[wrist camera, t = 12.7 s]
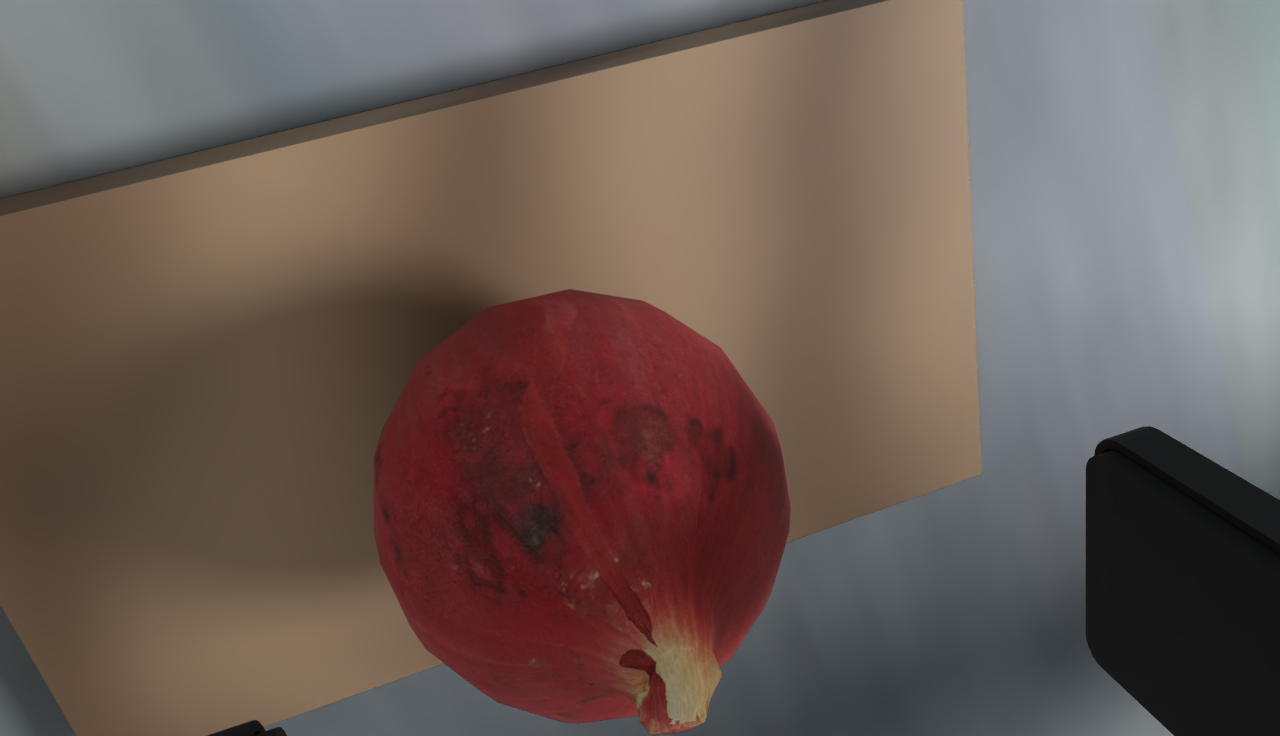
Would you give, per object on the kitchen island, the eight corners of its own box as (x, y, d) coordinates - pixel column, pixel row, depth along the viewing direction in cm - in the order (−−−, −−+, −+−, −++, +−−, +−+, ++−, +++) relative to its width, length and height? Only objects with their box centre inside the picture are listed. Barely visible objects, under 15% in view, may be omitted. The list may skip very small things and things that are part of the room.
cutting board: (914, -21, 19) (962, -18, 17) (943, 443, 23) (982, 473, 22) (-155, 235, 15) (-198, 263, 14) (117, 726, 19) (103, 783, 18)
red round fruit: (282, 384, 16) (269, 718, 9) (561, 162, 16) (759, 328, 9) (502, 594, 19) (620, 974, 12) (741, 403, 19) (998, 673, 12)
